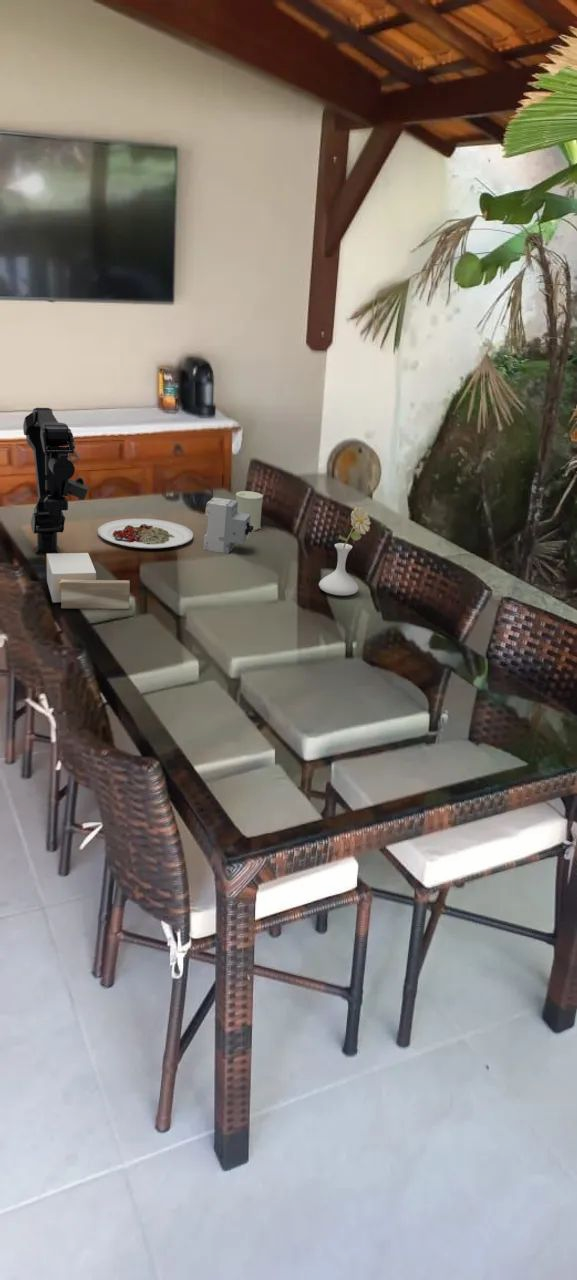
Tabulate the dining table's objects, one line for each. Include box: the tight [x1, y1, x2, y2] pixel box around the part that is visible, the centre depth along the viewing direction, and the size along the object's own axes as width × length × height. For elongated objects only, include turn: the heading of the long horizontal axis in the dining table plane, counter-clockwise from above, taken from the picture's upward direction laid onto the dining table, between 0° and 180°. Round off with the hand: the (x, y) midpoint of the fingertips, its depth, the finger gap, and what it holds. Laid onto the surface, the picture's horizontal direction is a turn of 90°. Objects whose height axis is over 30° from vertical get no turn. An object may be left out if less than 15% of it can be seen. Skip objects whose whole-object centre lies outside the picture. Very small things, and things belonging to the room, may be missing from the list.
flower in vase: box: [318, 506, 371, 596], centre depth 259 cm, size 13×11×25 cm
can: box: [235, 490, 264, 529], centre depth 311 cm, size 9×9×12 cm
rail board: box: [60, 579, 131, 610], centre depth 235 cm, size 3×17×7 cm, turn 102°
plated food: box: [97, 518, 194, 550], centre depth 293 cm, size 30×30×3 cm
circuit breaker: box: [202, 497, 254, 554], centre depth 287 cm, size 8×14×15 cm, turn 78°
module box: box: [46, 552, 97, 603], centre depth 244 cm, size 16×11×8 cm
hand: (56, 526), depth 256 cm, fingers closed
